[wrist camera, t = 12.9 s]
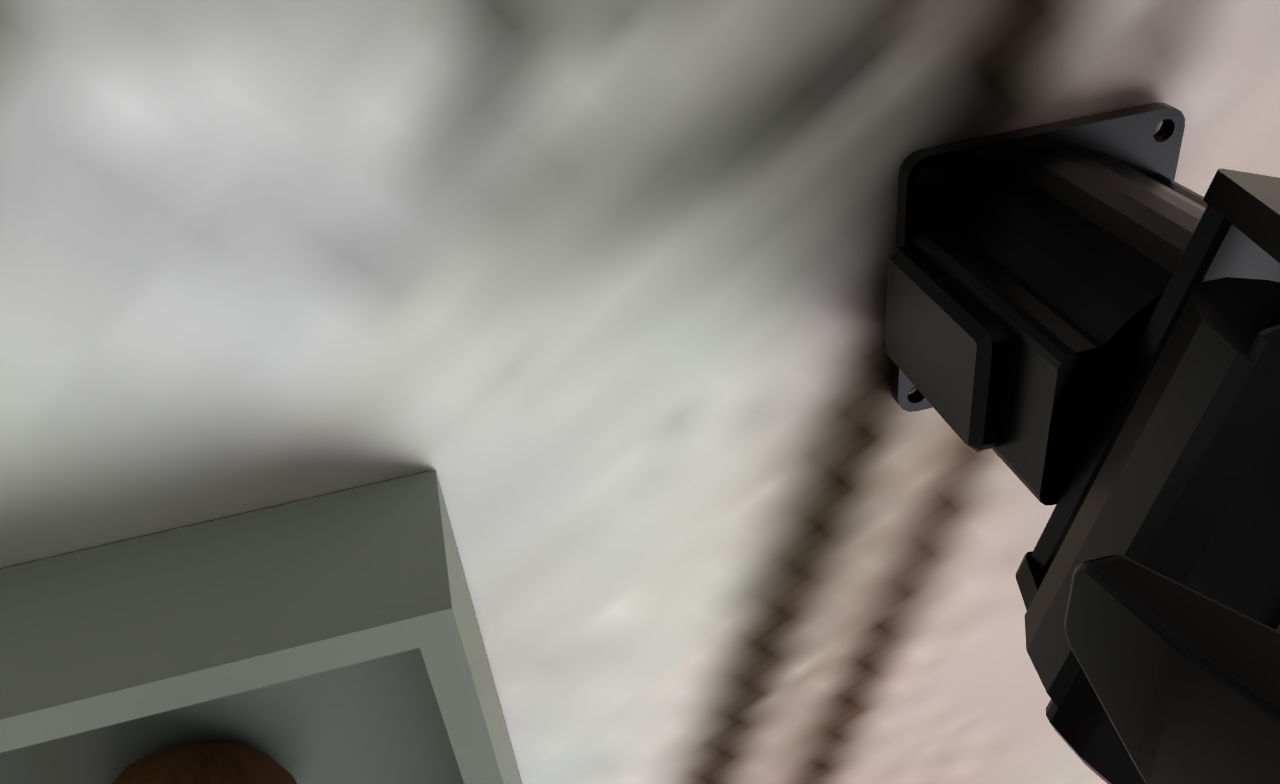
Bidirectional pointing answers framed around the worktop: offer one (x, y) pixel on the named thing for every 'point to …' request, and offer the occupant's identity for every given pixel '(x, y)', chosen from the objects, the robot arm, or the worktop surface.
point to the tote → (258, 648)
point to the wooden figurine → (206, 766)
